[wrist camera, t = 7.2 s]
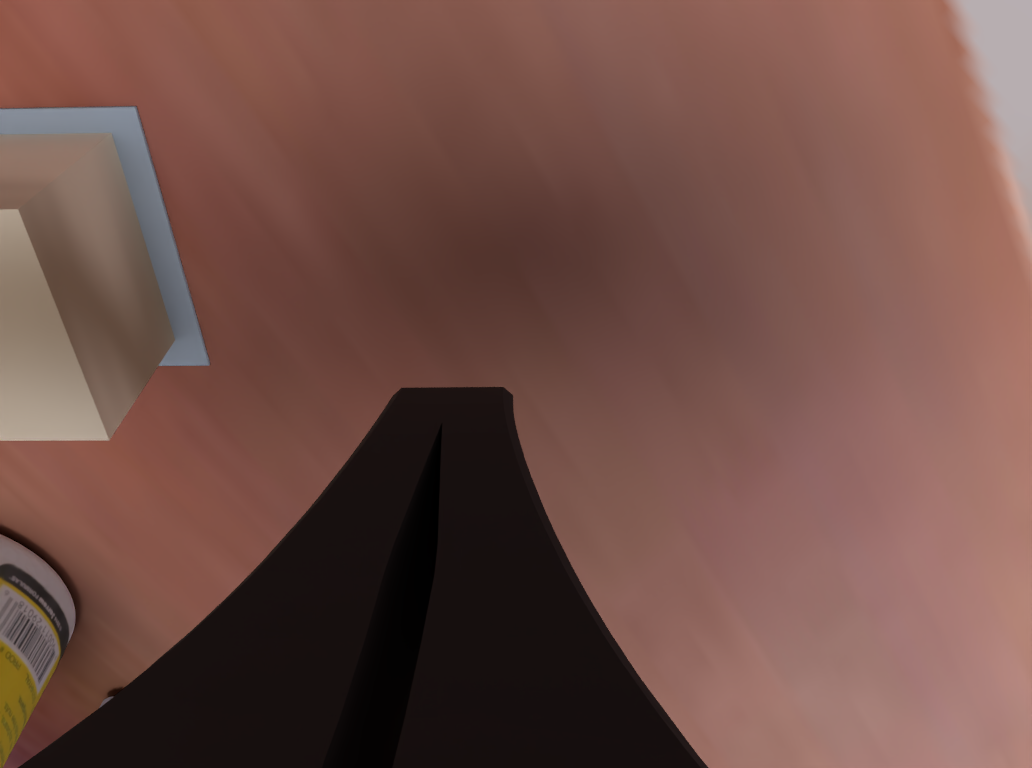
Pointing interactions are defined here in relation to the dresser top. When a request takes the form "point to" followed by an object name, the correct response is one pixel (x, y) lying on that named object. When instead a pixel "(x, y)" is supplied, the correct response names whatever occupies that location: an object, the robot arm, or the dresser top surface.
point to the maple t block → (72, 290)
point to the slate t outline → (146, 204)
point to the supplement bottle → (28, 635)
